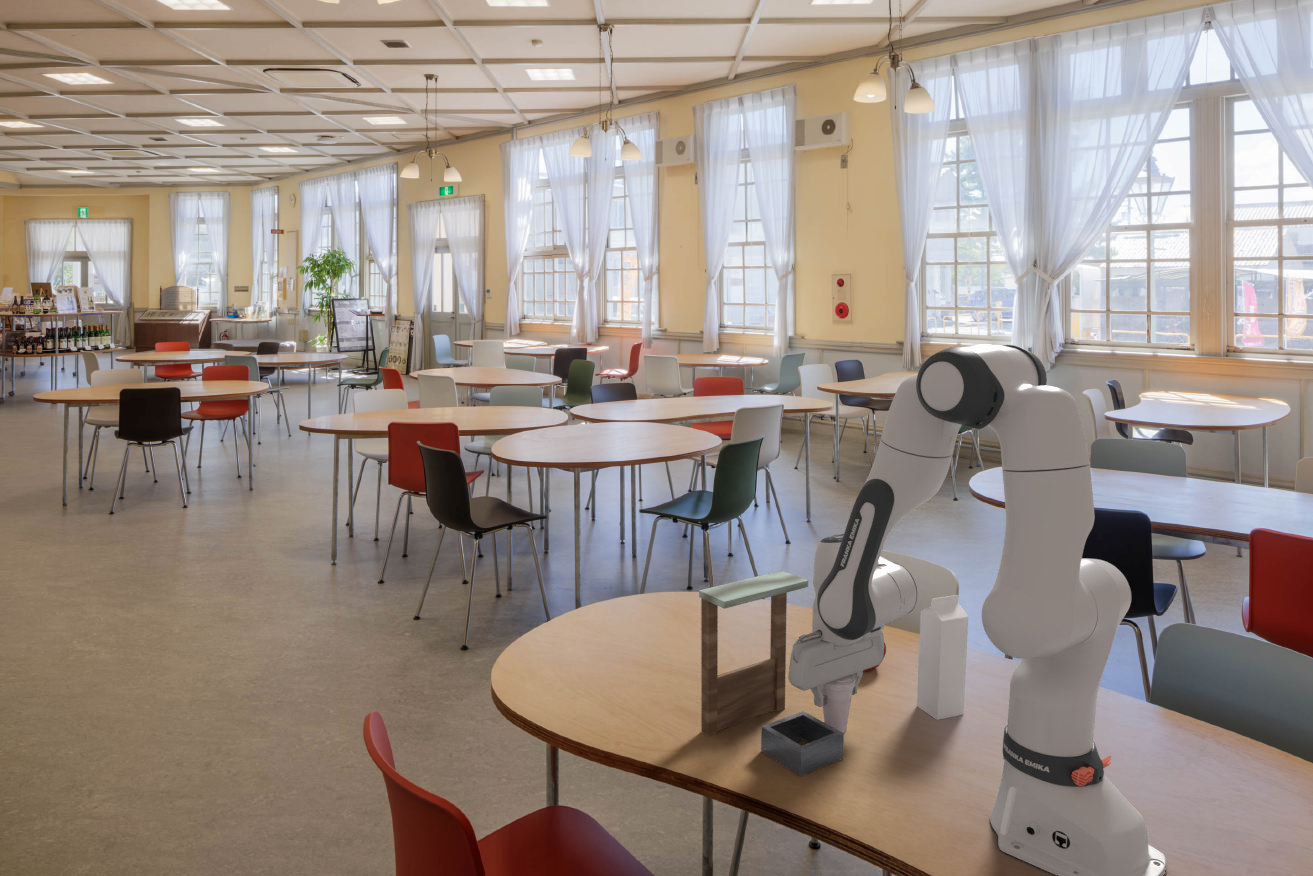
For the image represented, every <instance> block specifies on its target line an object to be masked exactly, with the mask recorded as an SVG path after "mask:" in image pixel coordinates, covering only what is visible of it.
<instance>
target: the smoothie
mask: <svg viewBox="0 0 1313 876" xmlns="http://www.w3.org/2000/svg"><path fill="white" fill-rule="evenodd" d="M854 687H855V678H854V677H853V676H852V675H848V676H845V677H843V678H840V679H837V680H834V681H831V682H828V683H826V684H824V687H823V689H822V690H821V691H822V694H823V695H826V696H827V705H825V706H822V712H823V722H824V723H826V724H828V725H830V726H831V727H833V728H835V729H837V730H839V731H840V732H842V733H844V734H845V733H846V732H847V728H848V727H847V726H848V723H849V722H848V721H849V715H850V708H851V702H852V697H853V695H852V692H853V688H854Z"/></svg>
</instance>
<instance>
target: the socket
mask: <svg viewBox="0 0 1313 876" xmlns="http://www.w3.org/2000/svg"><path fill="white" fill-rule="evenodd" d="M760 730H761V733H760V734H761V737H760V738H761V739H760V740H761V741H760V744H761V745H760V747H761V748H760V751H761V752H762V753H763V754H765V755H767V757H770V759H773V760H774V761H776V762H777V763H779V764H781V765H782V766H784V767H786V768H787V769H788V770H790V771H792V772H793V773H794V774H796V775H798V776H799V777H803V776H805V775H808V774H810V773H812V772H815V771H817V770H820V769H821V768H824V767H826V765H827V766H829V765H832V764H833V763H836V762H839V761H840V759H841V760H842V759H844V739H845V738H844V737H845V735H844V734H845V733H842V732H840V731H839V730H837V729H835V728H833V727H831V726H830V725H828V724H826V723H824V721H822V720H820V719H819V718H817V717H815V716H813V715H811V714H809V713H807V712H805V711H804V710H803V711H800V712H797V713H794V714H791V715H789V716H786V717H783V718H781V719H778V720H776V721H773V722H770V723H767V724H765V725H761V727H760ZM801 740H804V741H805V742H807V743H805V744H803V745H801V744H799V743H798V741H801Z"/></svg>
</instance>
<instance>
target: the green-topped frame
mask: <svg viewBox="0 0 1313 876" xmlns="http://www.w3.org/2000/svg"><path fill="white" fill-rule="evenodd" d="M805 588H809V580H808V579H806V578H803V577H800V576H797V575H795V574H791V573H789V572H787V571H783V570H778V571H774V572H771V573H766V574H762V575H758V576H753V577H750V578H745V579H742V580H741V579H740V580H737V581H732V582H728V583H725V584H724V583H723V584H721V585H716V586H712V587H708V588H703V589H700V590H698V597H699V598H700V599H701V600H700V601H701V603H700V607H701V609H700V610H701V617H700V619H701V623H700V625H701V628H700V630H701V632H700V633H701V637H700V638H701V641H700V643H701V645H700V646H701V648H700V649H701V653H700V654H701V657H700V658H701V659H700V660H701V663H700V664H701V668H700V670H701V674H700V675H701V677H700V679H701V683H700V684H701V687H700V688H701V689H700V690H701V698H700V701H701V711H700V712H701V733H703V734H704V735H705V736H707V737H710V736H713V735H715V734H716V735H717V733H718V731H721V730H724V729H727V728H730V727H732V726H736V725H738V724H741V723H743V722H746V721H749V720H752V719H754V718H757V717H759V716H763V715H766V714H769V713H771V712H773V711H774V712H780V711H782V710H785V709H786V672H787V671H786V665H787V664H786V663H787V661H786V659H787V658H786V657H787V656H786V655H787V605H788V604H787V603H788V599H787V594H788V593H790V592H794V591H797V590H802V589H805ZM767 598H770V644H769V645H770V656H769V657H770V658H769V659H766V660H762V661H759V662H756V663H753V664H749V665H746V666H743V667H739V668H737V669H734V670H733V669H732V670H730V671H726V672H724V673H720V674H718V671H719V670H718V667H719V666H718V652H719V651H718V646H719V645H718V639H719V638H718V637H719V636H718V634H719V631H718V623H719V621H718V619H719V617H718V616H719V615H718V613H719V612H718V611H719V610H718V607H720V608H721V609H724V610H725V609H729V608H733V607H737V606H741V605H744V604H748V603H752V602H755V601H760V600H763V599H767Z"/></svg>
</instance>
